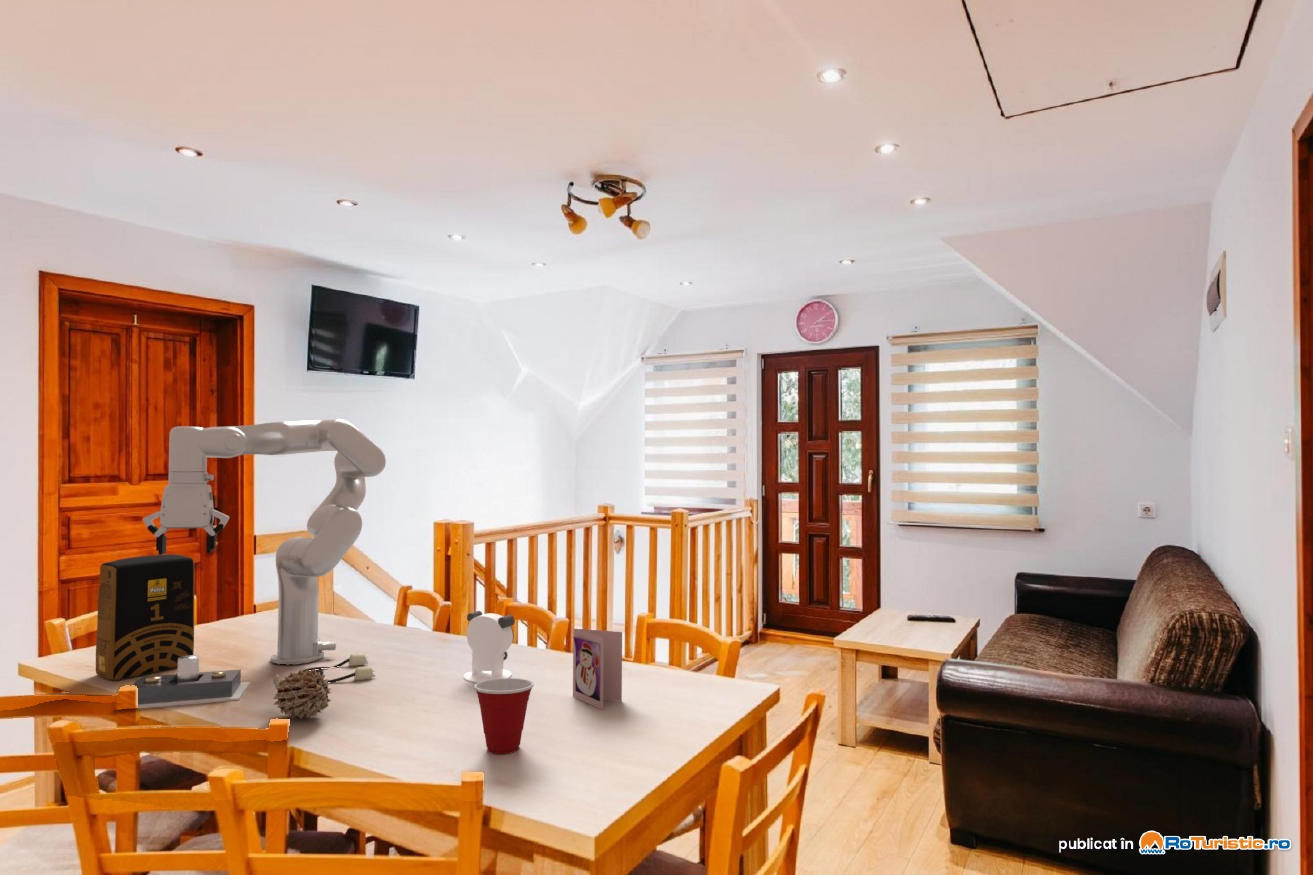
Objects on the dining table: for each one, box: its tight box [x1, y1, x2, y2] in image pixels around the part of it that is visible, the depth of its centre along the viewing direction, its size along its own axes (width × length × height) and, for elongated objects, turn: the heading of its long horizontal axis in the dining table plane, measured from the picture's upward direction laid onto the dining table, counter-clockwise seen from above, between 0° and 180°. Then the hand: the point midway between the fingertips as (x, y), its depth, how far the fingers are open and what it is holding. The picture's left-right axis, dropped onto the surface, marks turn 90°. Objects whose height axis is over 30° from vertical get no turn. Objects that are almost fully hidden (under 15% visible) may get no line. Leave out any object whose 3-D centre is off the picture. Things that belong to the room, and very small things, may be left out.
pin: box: [176, 654, 200, 683], centre depth 165 cm, size 4×4×8 cm
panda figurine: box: [463, 610, 515, 684], centre depth 182 cm, size 12×11×15 cm
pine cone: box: [272, 669, 333, 719], centre depth 154 cm, size 22×10×10 cm, turn 53°
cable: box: [302, 653, 376, 683], centre depth 182 cm, size 16×16×4 cm
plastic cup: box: [473, 677, 535, 755], centre depth 137 cm, size 11×11×12 cm
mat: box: [137, 681, 251, 710], centre depth 165 cm, size 23×12×1 cm, turn 108°
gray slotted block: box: [131, 668, 242, 705], centre depth 165 cm, size 20×9×4 cm, turn 108°
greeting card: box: [572, 628, 623, 711], centre depth 164 cm, size 11×7×15 cm, turn 40°
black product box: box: [95, 553, 195, 682], centre depth 185 cm, size 11×19×28 cm, turn 147°
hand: (186, 553), depth 174 cm, fingers open, 9 cm apart
